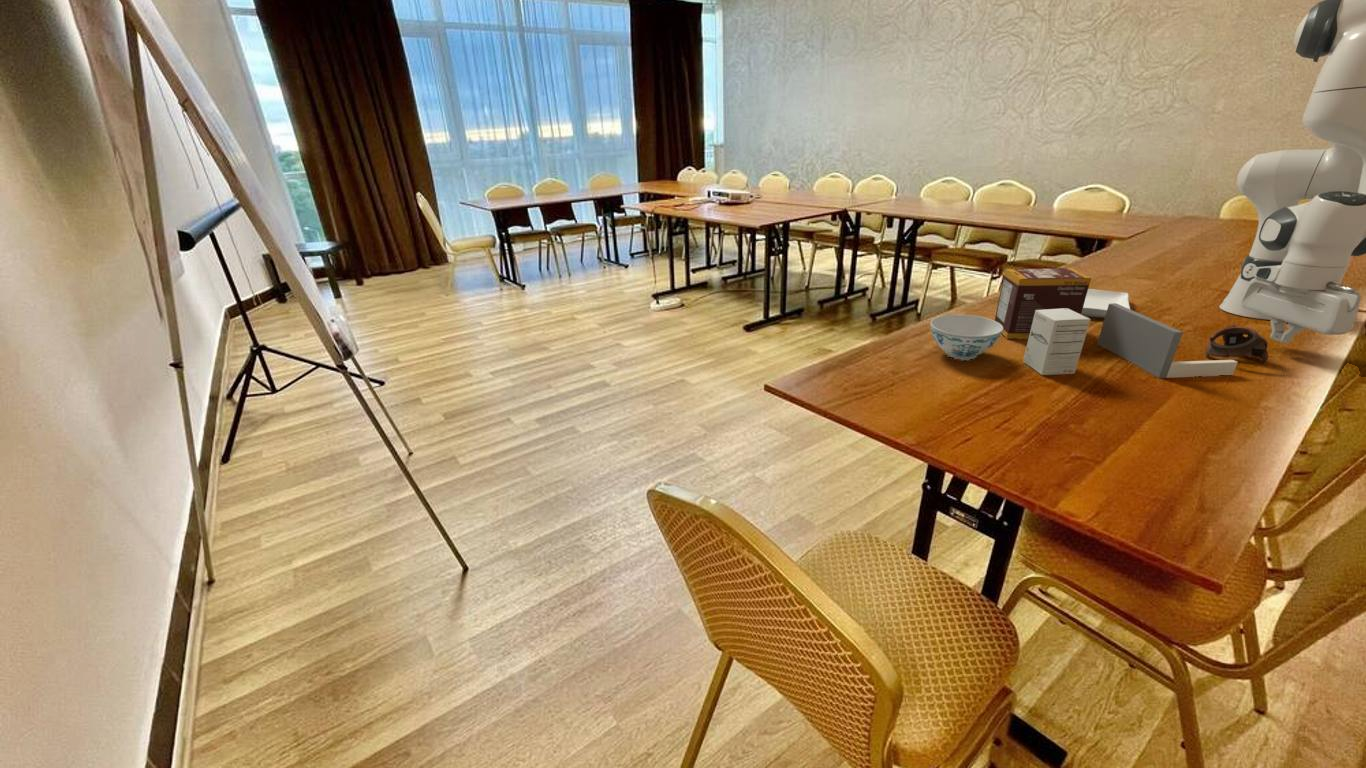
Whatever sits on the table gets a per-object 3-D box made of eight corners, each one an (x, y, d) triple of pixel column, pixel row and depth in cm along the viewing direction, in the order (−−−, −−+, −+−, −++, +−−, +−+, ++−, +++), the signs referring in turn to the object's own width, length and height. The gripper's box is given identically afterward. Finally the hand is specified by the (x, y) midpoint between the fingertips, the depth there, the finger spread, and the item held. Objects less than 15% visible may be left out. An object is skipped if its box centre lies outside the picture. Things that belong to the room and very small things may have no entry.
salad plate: (1038, 294, 161) (1040, 284, 160) (1125, 302, 150) (1128, 291, 148) (1031, 314, 146) (1034, 302, 145) (1127, 325, 135) (1131, 312, 133)
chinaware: (1004, 351, 124) (1011, 321, 121) (985, 373, 114) (992, 340, 111) (939, 339, 134) (943, 310, 130) (916, 358, 124) (920, 328, 121)
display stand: (1159, 341, 123) (1173, 300, 119) (1232, 375, 106) (1252, 329, 101) (1097, 343, 124) (1109, 303, 120) (1158, 377, 107) (1175, 332, 103)
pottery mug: (1279, 372, 107) (1273, 341, 104) (1215, 383, 113) (1209, 355, 110) (1256, 338, 115) (1251, 309, 112) (1198, 350, 121) (1191, 323, 118)
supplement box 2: (1021, 362, 118) (1033, 309, 113) (1055, 360, 118) (1069, 307, 112) (1040, 375, 111) (1054, 320, 106) (1076, 374, 111) (1092, 318, 106)
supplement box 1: (1075, 339, 127) (1092, 277, 121) (1006, 339, 131) (1019, 278, 124) (1057, 325, 137) (1072, 267, 130) (992, 325, 140) (1004, 268, 133)
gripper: (1383, 289, 96) (1347, 358, 102) (1278, 265, 115) (1253, 325, 120) (1345, 290, 97) (1312, 359, 103) (1247, 266, 115) (1223, 325, 121)
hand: (1279, 340), depth 112 cm, fingers closed
